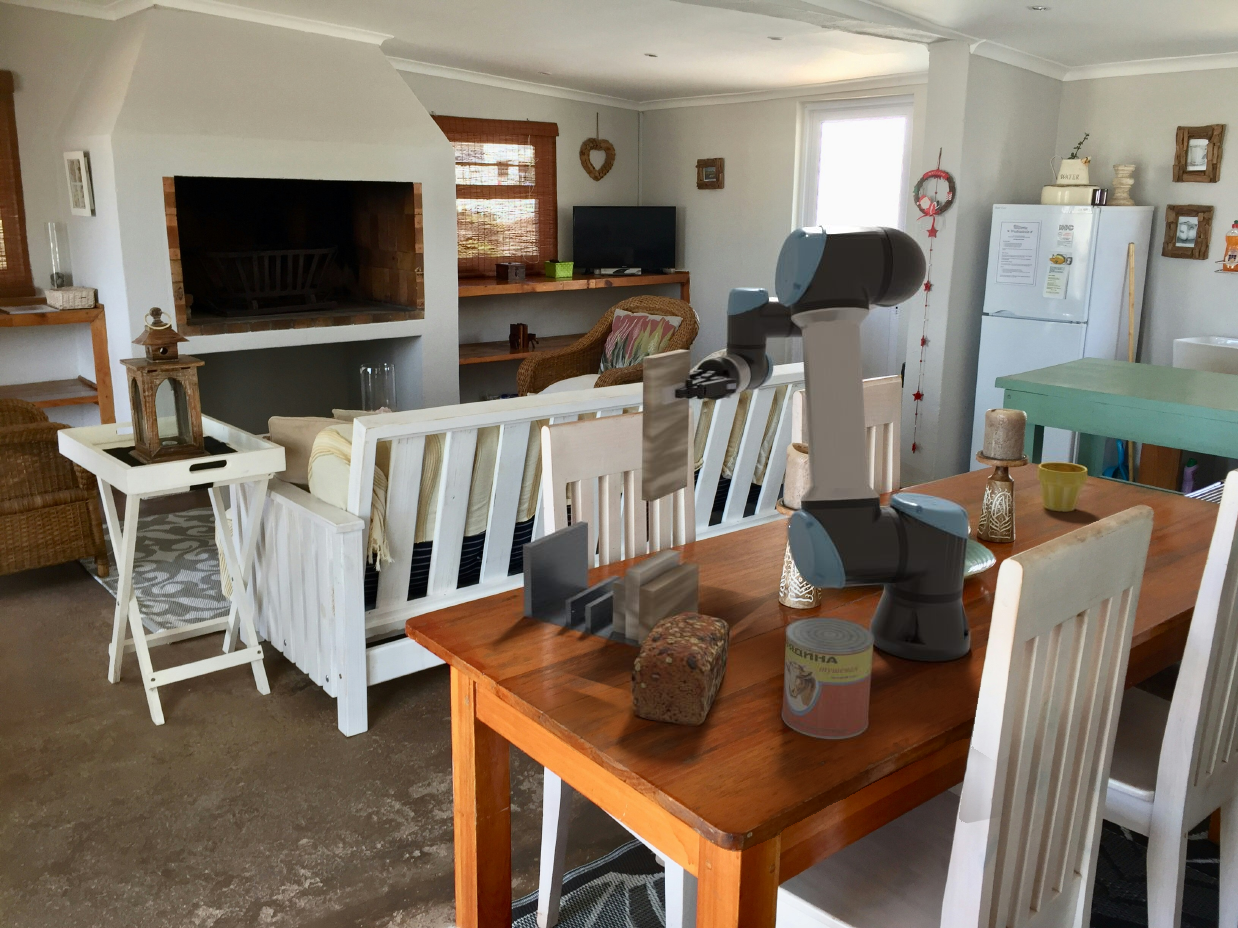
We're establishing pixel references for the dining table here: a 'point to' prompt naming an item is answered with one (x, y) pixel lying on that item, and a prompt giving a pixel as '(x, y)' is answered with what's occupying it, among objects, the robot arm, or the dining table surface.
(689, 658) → the bread
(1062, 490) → the plant pot
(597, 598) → the metal rack
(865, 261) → the robot arm
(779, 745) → the dining table surface
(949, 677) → the dining table surface
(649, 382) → the plywood sheet
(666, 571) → the offcut stack
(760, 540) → the dining table surface
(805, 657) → the canned food
